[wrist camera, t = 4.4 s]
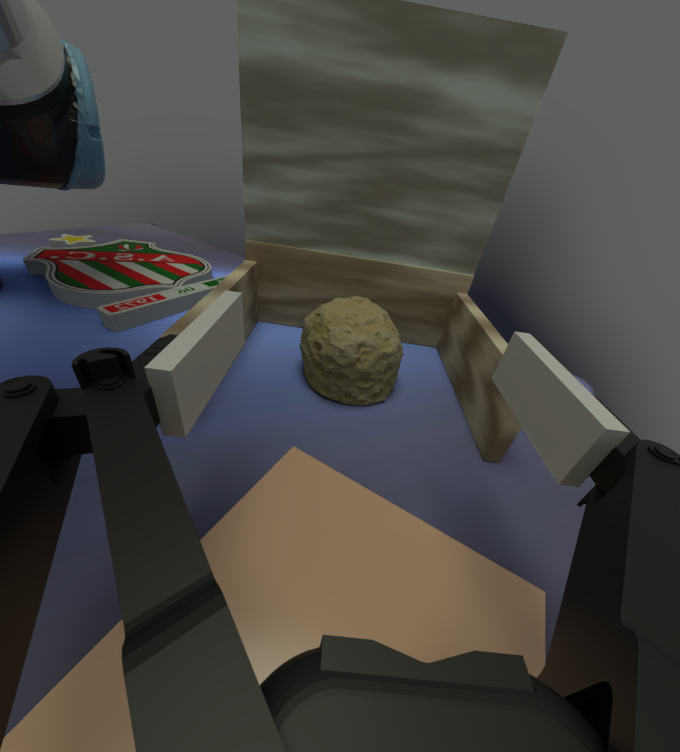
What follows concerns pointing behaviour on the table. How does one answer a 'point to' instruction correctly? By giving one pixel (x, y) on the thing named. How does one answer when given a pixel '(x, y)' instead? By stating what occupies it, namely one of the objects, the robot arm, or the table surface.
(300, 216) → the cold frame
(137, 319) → the decorative emblem
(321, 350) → the olive rounded lump
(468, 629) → the terracotta tile
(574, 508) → the table surface
